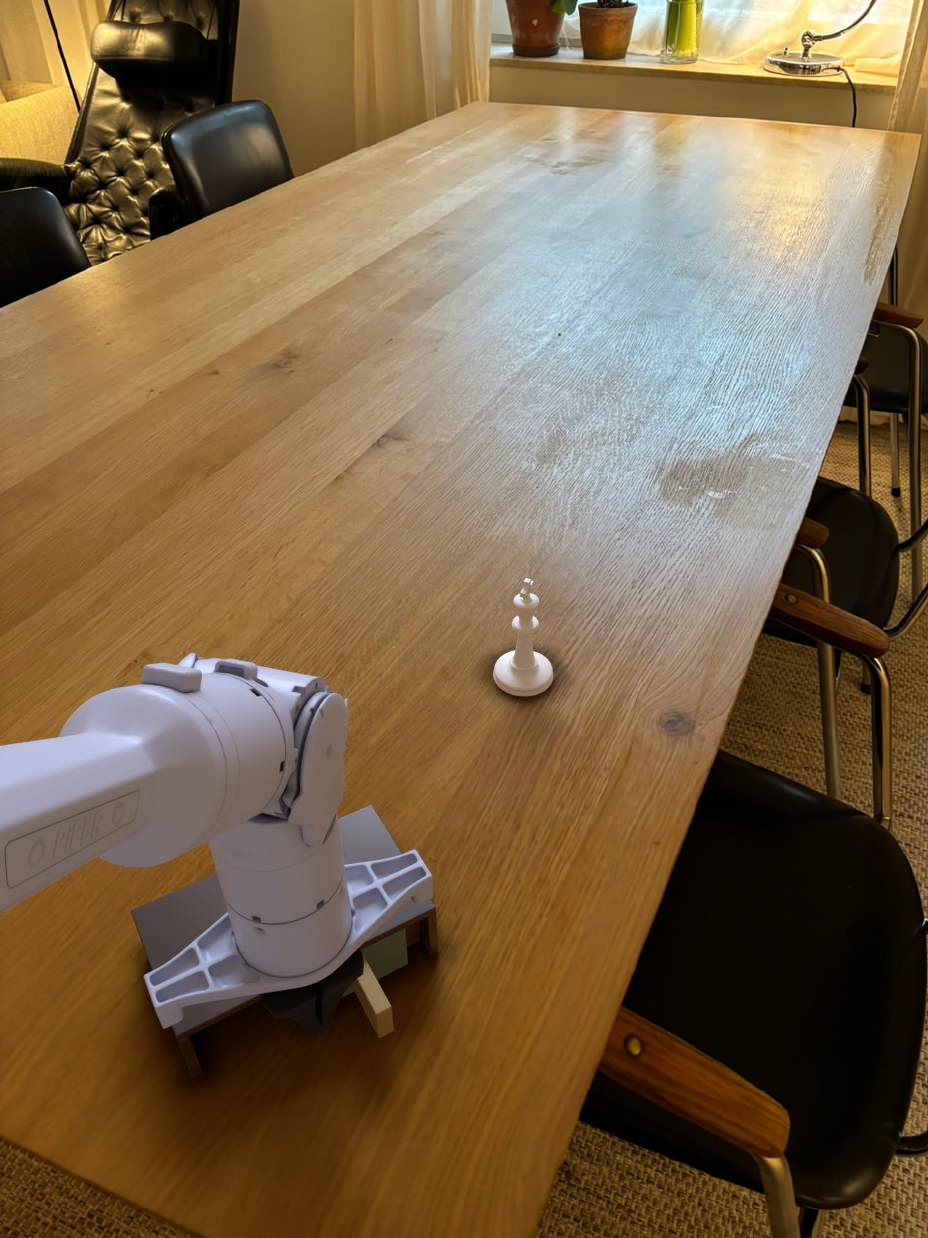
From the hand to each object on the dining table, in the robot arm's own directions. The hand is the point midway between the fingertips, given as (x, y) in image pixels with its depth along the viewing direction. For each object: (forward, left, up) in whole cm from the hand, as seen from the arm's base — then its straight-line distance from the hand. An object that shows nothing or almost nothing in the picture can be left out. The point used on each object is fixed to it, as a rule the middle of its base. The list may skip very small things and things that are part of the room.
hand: (313, 1016), depth 55 cm
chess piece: (+27, +21, -5) cm, 34 cm away
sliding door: (+4, +1, -4) cm, 6 cm away
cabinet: (+1, +7, -4) cm, 8 cm away
